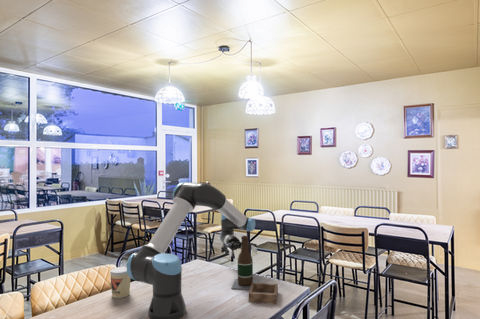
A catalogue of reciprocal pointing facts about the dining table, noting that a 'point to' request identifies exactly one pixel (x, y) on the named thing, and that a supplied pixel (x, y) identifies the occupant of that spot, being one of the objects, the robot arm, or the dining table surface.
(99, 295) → the dining table surface
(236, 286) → the coaster
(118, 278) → the coffee cup
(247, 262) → the beer bottle
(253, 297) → the caddy
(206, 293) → the dining table surface
